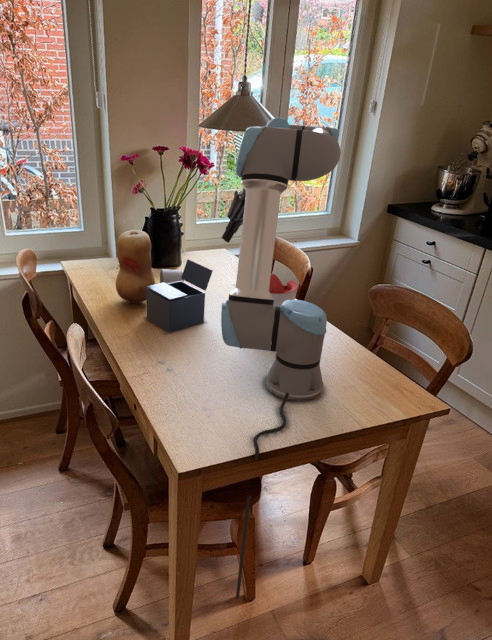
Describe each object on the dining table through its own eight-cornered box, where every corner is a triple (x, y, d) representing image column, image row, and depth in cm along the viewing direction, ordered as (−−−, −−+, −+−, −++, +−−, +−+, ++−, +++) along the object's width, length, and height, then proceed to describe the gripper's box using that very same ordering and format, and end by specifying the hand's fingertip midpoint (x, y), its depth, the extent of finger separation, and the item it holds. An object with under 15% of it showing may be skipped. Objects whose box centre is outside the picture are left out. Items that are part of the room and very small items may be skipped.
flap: (180, 278, 179) (181, 278, 179) (204, 290, 171) (205, 290, 171) (187, 259, 177) (188, 259, 178) (212, 270, 169) (212, 270, 169)
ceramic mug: (184, 292, 199) (184, 272, 195) (162, 293, 196) (162, 273, 193) (178, 282, 207) (178, 263, 204) (157, 283, 205) (157, 264, 202)
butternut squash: (110, 306, 183) (107, 234, 171) (123, 292, 195) (121, 224, 182) (149, 311, 182) (149, 239, 169) (160, 297, 193) (160, 228, 180)
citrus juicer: (301, 330, 176) (310, 271, 166) (276, 348, 163) (284, 287, 153) (260, 317, 183) (266, 260, 173) (233, 334, 170) (238, 274, 160)
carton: (180, 309, 185) (181, 278, 179) (203, 322, 176) (205, 290, 171) (146, 318, 177) (146, 286, 171) (169, 332, 168) (169, 299, 163)
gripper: (281, 187, 173) (244, 250, 173) (252, 181, 181) (218, 241, 182) (270, 173, 167) (232, 239, 167) (241, 167, 175) (205, 229, 176)
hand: (225, 240), depth 175 cm, fingers closed
